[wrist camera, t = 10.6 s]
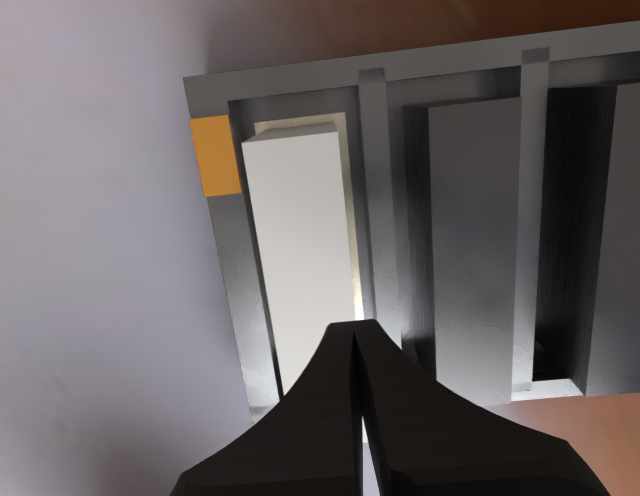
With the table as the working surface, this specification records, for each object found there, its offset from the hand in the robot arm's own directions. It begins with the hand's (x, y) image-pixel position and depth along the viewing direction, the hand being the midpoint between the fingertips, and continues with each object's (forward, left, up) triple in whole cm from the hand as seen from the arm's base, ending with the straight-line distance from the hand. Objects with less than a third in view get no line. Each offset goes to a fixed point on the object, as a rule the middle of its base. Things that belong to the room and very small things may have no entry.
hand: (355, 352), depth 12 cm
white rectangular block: (0, +1, -9) cm, 10 cm away
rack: (0, -5, -10) cm, 11 cm away
